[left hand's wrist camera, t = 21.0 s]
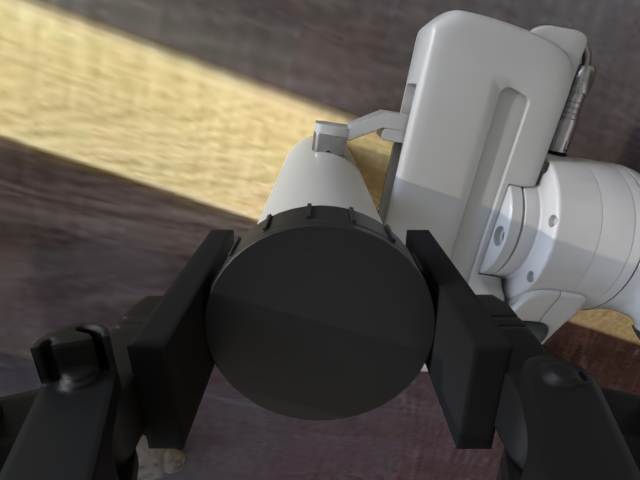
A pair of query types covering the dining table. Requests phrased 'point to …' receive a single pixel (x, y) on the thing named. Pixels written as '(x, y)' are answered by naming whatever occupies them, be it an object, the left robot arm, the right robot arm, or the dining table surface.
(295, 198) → the jar
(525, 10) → the dining table surface
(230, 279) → the lid
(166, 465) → the decorative stone
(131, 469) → the left robot arm
